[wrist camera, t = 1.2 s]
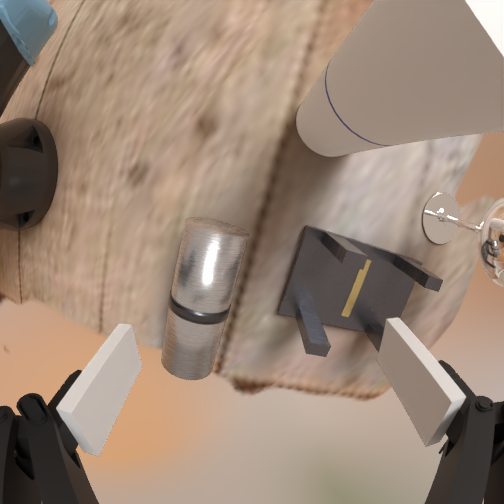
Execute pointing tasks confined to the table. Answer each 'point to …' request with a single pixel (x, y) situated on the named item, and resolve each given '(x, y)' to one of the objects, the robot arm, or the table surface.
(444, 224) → the wineglass
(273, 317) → the table surface
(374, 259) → the rail
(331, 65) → the cylindrical container
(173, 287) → the tube
